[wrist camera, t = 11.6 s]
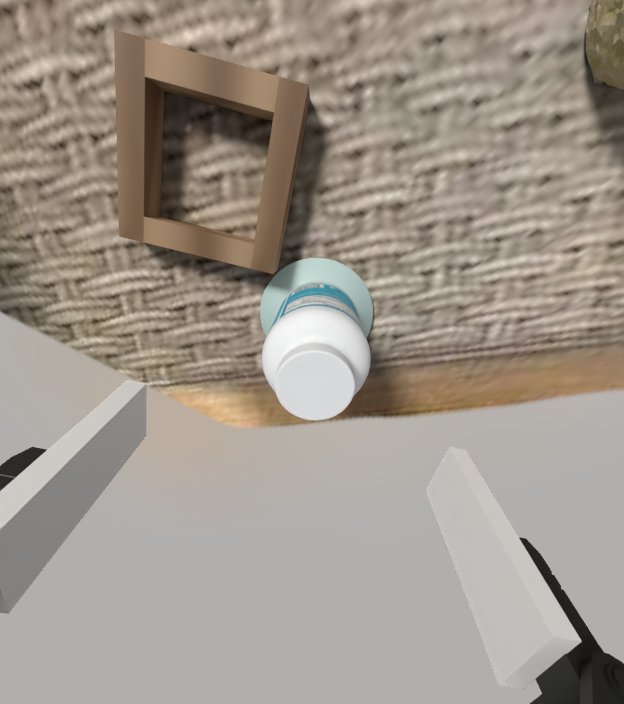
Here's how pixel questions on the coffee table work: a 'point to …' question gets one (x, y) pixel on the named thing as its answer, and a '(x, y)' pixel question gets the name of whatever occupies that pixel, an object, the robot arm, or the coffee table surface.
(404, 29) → the coffee table surface
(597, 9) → the decorative object
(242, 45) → the coffee table surface
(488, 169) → the coffee table surface
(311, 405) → the pill bottle
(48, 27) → the coffee table surface
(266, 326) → the coaster
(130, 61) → the walnut frame
